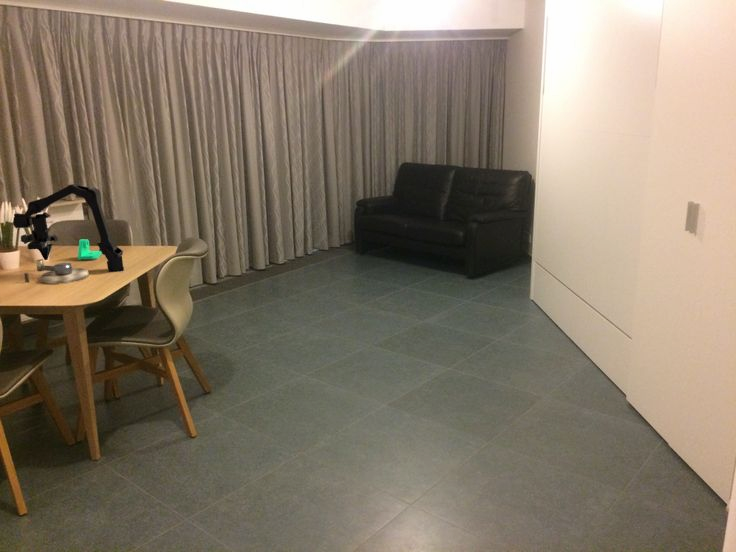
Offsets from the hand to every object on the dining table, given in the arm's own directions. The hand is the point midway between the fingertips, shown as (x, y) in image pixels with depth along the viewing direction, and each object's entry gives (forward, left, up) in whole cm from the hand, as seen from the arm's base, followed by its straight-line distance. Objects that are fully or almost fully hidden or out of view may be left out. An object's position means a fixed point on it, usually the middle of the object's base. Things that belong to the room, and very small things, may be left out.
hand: (46, 259), depth 268 cm
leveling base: (-5, +13, -6) cm, 15 cm away
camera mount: (-17, -24, -7) cm, 31 cm away
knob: (-4, +10, -4) cm, 12 cm away
